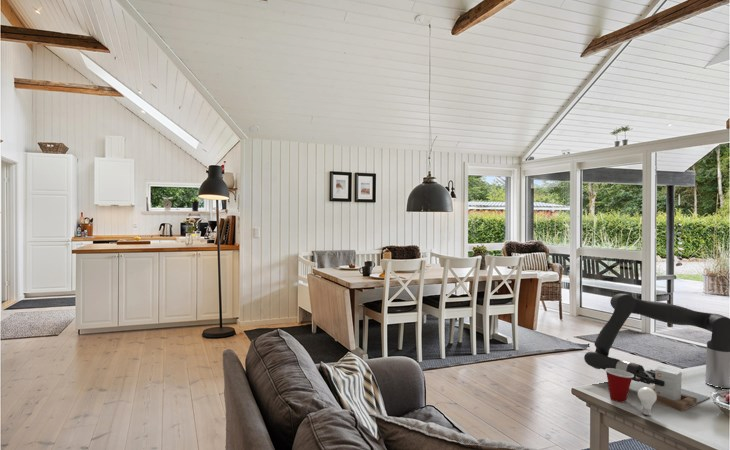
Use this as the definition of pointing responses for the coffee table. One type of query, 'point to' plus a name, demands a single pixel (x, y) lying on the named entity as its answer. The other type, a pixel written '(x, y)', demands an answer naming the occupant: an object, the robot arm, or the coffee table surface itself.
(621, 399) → the plastic cup
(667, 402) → the holder
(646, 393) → the lightbulb
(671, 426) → the coffee table surface
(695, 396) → the mat
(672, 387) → the small box
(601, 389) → the coffee table surface
